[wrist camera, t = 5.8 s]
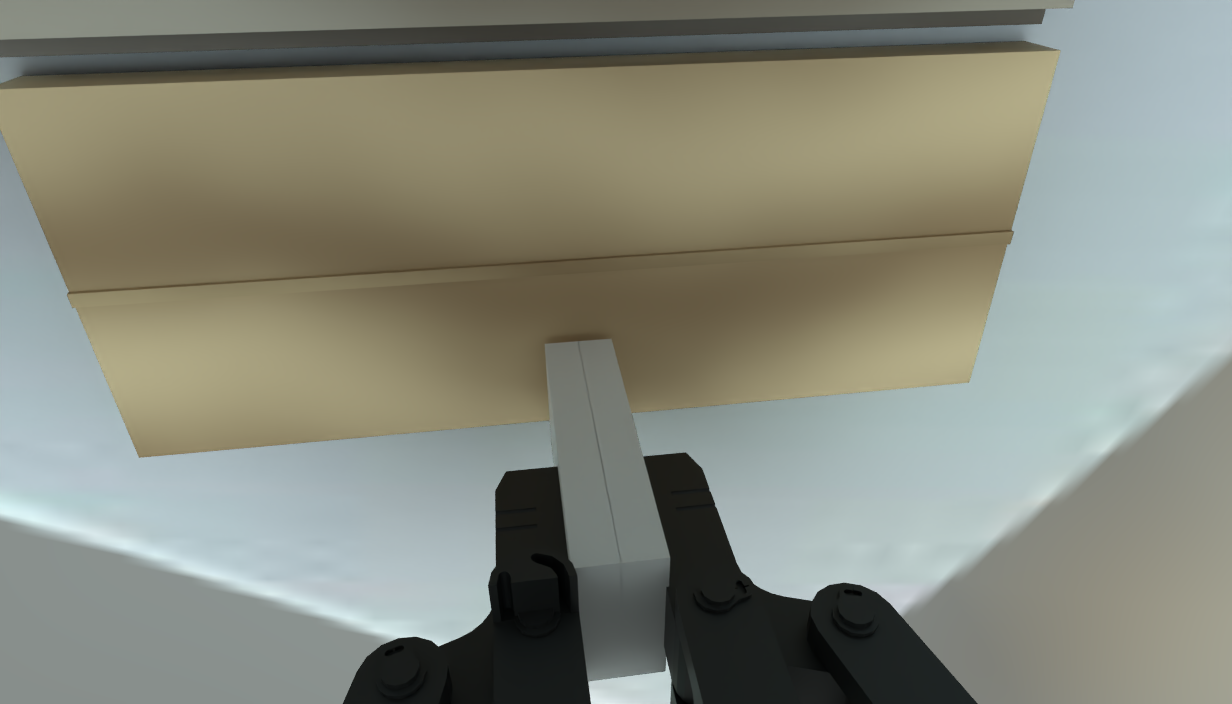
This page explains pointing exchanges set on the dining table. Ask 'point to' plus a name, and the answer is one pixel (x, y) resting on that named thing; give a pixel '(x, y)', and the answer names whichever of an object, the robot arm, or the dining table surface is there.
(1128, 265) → the dining table surface
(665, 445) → the dining table surface
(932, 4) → the laid floor
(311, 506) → the dining table surface
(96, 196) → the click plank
